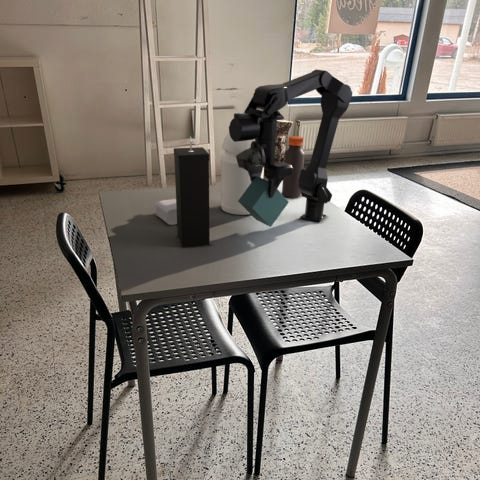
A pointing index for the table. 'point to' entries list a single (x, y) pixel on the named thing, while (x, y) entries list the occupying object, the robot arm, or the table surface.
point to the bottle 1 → (234, 176)
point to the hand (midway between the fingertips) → (262, 194)
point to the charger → (167, 211)
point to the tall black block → (192, 195)
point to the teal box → (262, 202)
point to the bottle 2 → (295, 159)
